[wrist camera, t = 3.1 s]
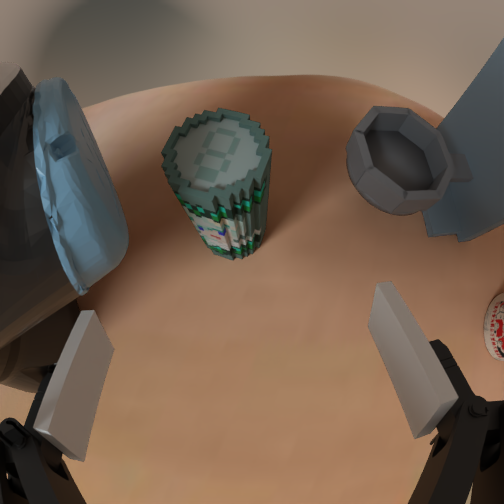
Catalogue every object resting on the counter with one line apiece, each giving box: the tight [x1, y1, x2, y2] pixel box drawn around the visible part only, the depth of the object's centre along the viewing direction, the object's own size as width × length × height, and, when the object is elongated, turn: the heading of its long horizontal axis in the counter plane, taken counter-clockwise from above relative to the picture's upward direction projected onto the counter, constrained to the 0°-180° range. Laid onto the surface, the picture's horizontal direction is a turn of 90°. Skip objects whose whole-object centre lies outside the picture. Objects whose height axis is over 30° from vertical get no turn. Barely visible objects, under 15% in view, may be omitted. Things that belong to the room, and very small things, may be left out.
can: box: [161, 108, 272, 260], centre depth 24 cm, size 6×6×15 cm
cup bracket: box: [346, 38, 504, 242], centre depth 20 cm, size 17×14×26 cm
